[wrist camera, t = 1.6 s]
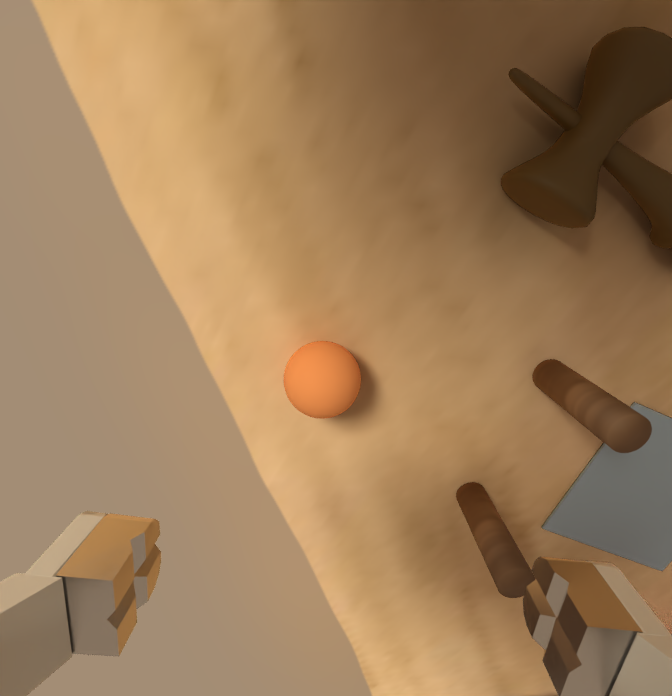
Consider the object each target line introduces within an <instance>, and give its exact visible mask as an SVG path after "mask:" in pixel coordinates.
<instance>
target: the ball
mask: <svg viewBox="0 0 672 696" xmlns="http://www.w3.org/2000/svg"><path fill="white" fill-rule="evenodd" d="M360 385H361V374H360V369H359V366H358V364H357V362H356V360H355V358H354V357H353V356H352V355H351V353H350V352H349V351H348V350H346V349H345V348H344V347H342V346H340V345H338V344H336V343H333V342H328V341H317V342H312V343H309V344H307V345H305V346H303V347H301V348H300V349H299V350H297V351H296V352H295V353H294V354H293V355H292V357H291V358H290V360H289V361H288V363H287V366H286V369H285V373H284V387H285V391H286V394H287V396H288V398H289V400H290V402H291V403H292V404H293V405H294V407H295V408H296V409H298V410H299V411H300V412H302V413H304V414H305V415H308V416H310V417H314V418H331V417H334V416H337V415H339V414H341V413H343V412H344V411H346V410H347V409H348V408H349V407H350V406H351V405H352V404H353V402H354V401H355V399H356V398H357V395H358V393H359V390H360Z"/></svg>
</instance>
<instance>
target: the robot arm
mask: <svg viewBox="0 0 672 696" xmlns="http://www.w3.org/2000/svg"><path fill="white" fill-rule="evenodd" d="M159 535H160V526H159V521H158V520H156V519H151V518H144V517H135V516H128V515H120V514H111V513H110V514H106V513H98V512H91V511H85V512H83V513H82V514H79V515H78V516H77V517H76V518H75V519H74V521H72V523H71V524H70V525H69V526H68V527H67V528H66V529H65V530H64V531H63V532H62V533H61V535H60V536H59V537H58V538H57V539H56V540H55V541H54V542H53V543H52V544H51V546H50V547H49V548H48V549H47V550H46V551H45V552H44V553H43V555H42V556H40V557H39V559H38V560H37V561H36V562H35V563H34V564H33V565H32V566H31V567H30V568H29V570H28V571H27V572H26V573H25V574H20V573H16V574H14V575H12V576H10V577H8V578H6V579H5V580H3V581H1V582H0V696H27V695H28V694H29V693H30V692H31V691H32V690H34V689H35V688H36V687H37V686H38V685H40V684H41V683H42V682H43V681H44V680H45V679H47V678H48V677H49V676H50V675H51V674H52V673H54V672H55V671H56V670H57V669H58V668H59V667H61V666H62V665H63V664H64V663H65V662H66V661H68V660H69V659H70V658H71V657H72V654H87V655H104V656H120V654H121V652H122V650H123V648H124V646H125V644H126V642H127V640H128V638H129V636H130V634H131V633H132V631H133V629H134V627H135V625H136V623H137V612H136V609H138V608H139V607H140V606H142V605H143V604H144V603H146V602H147V601H148V600H149V598H150V596H151V594H152V592H153V590H154V588H155V585H156V581H157V578H158V575H159V571H160V564H161V551H160V550H159V549H158V547H157V546H156V545H155V542H156V541H157V539H158V537H159ZM532 572H533V574H534V576H535V578H536V580H535V581H533V582H532V583H531V584H529V585H528V586H527V587H526V590H525V594H524V598H523V609H524V617H525V620H526V624H527V627H528V629H529V632H530V634H531V636H532V638H533V639H534V640H535V641H536V642H537V643H538V644H539V645H540V646H541V647H542V648H544V649H545V652H544V656H543V663H544V665H545V667H546V669H547V671H548V674H549V676H550V678H551V680H552V682H553V684H554V687H555V689H556V691H557V693H558V695H559V696H672V635H671V633H670V632H669V631H668V630H667V628H666V627H665V626H664V625H663V623H662V622H661V621H660V620H659V618H658V617H657V616H656V615H655V613H654V612H653V611H652V610H651V608H650V607H649V606H648V605H647V603H646V602H645V601H644V600H643V598H642V597H641V596H640V595H639V593H638V592H637V591H636V590H635V588H634V587H633V586H632V585H631V583H630V582H629V581H628V579H627V578H626V577H625V576H624V574H623V573H622V572H621V571H620V569H619V568H618V567H616V566H615V565H613V564H612V563H610V562H599V561H583V560H572V559H561V558H550V557H539V558H538V559H537V560H536V561H535V562H534V565H533V568H532Z"/></svg>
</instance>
